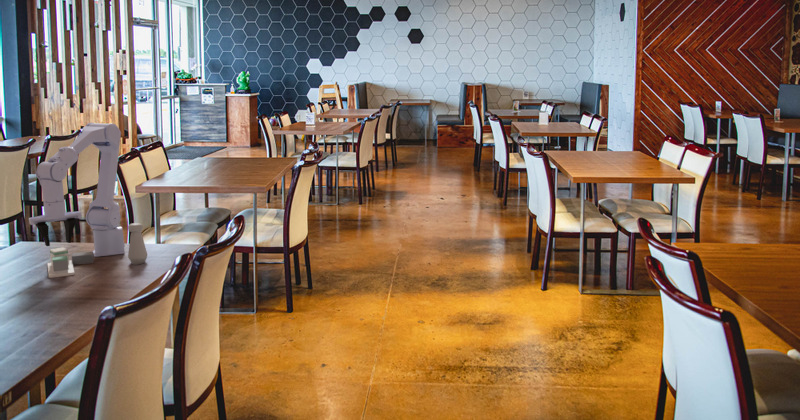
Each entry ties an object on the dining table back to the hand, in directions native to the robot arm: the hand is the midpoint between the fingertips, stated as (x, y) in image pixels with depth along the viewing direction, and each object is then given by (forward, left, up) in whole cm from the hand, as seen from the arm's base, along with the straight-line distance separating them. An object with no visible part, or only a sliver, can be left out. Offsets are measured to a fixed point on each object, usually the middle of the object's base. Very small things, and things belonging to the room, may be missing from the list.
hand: (58, 243), depth 208 cm
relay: (-7, -6, -9) cm, 13 cm away
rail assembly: (0, 0, -8) cm, 8 cm away
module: (0, 0, -7) cm, 7 cm away
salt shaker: (-23, +2, -9) cm, 24 cm away
